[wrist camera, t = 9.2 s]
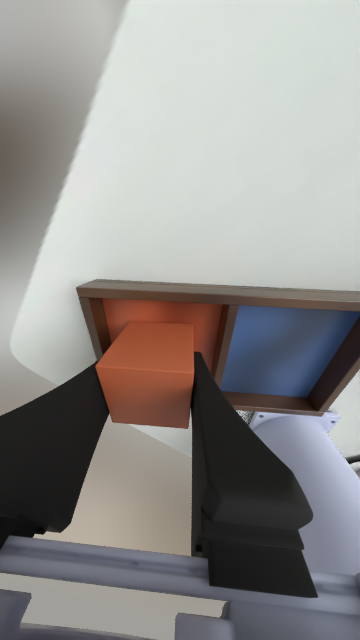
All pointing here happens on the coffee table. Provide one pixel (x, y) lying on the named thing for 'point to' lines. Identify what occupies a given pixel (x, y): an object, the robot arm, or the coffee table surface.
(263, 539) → the robot arm
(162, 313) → the sorter
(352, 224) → the coffee table surface
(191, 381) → the terracotta block
